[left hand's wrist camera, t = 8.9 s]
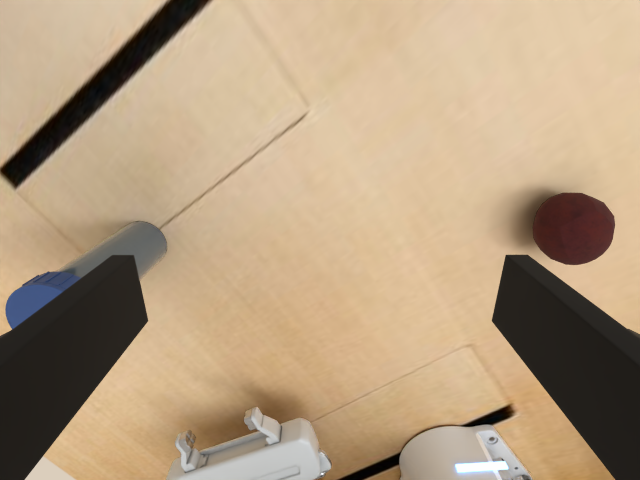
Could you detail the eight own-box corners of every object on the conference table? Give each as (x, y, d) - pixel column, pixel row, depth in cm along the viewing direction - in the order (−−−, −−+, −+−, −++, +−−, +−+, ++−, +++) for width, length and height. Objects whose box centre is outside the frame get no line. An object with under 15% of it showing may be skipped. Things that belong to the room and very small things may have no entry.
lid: (121, 325, 30) (106, 342, 28) (56, 345, 31) (37, 363, 29) (79, 260, 28) (60, 273, 26) (10, 283, 29) (-14, 298, 27)
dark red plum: (533, 258, 43) (572, 287, 36) (509, 207, 40) (545, 228, 34) (593, 227, 41) (645, 251, 35) (571, 172, 39) (622, 186, 32)
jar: (175, 256, 43) (101, 335, 28) (135, 269, 44) (42, 353, 29) (153, 215, 41) (62, 278, 27) (111, 229, 42) (0, 298, 27)
